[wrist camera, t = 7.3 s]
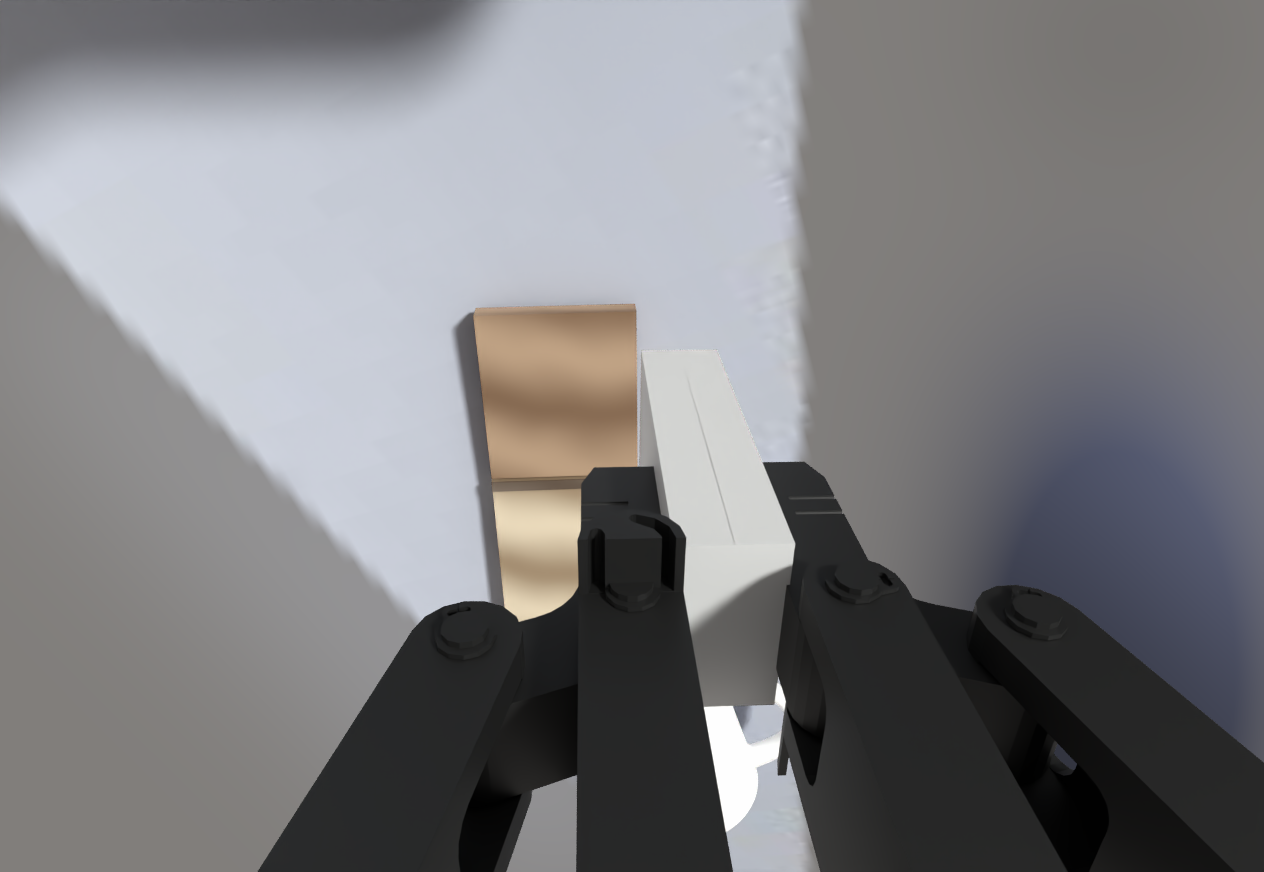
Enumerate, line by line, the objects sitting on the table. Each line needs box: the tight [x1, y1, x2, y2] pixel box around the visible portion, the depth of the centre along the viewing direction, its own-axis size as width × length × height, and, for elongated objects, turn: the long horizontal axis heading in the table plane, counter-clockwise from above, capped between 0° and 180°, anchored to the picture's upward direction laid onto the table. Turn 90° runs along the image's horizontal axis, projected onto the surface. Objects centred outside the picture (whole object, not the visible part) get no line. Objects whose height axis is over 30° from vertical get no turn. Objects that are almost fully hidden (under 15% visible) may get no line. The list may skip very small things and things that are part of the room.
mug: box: [704, 683, 786, 832], centre depth 52 cm, size 12×10×8 cm
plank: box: [473, 304, 637, 479], centre depth 44 cm, size 10×8×1 cm
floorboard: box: [492, 476, 587, 622], centre depth 49 cm, size 12×8×2 cm
